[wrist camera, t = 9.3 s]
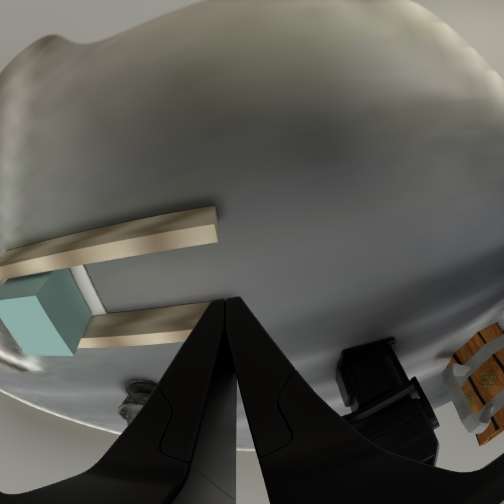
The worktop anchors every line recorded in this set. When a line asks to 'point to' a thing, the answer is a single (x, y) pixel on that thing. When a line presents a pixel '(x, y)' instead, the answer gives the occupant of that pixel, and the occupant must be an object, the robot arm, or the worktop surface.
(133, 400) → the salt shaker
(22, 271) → the chute
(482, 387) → the mug
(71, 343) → the block
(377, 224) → the worktop surface
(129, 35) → the worktop surface
